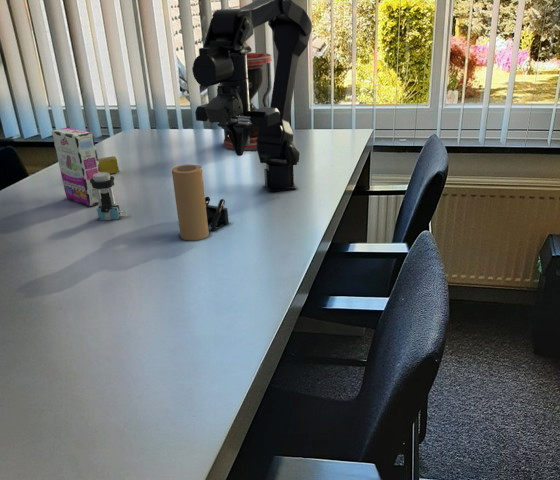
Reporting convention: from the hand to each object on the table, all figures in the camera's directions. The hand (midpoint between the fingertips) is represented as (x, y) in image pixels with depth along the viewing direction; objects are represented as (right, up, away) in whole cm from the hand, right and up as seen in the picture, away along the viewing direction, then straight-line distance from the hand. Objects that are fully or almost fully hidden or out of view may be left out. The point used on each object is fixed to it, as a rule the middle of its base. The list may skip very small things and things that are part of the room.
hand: (239, 155), depth 138 cm
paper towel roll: (-7, -15, -4) cm, 17 cm away
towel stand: (-6, -16, -2) cm, 17 cm away
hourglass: (-1, +24, +57) cm, 62 cm away
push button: (-30, -13, +4) cm, 33 cm away
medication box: (-42, +6, +34) cm, 54 cm away
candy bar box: (-39, -6, +16) cm, 43 cm away
